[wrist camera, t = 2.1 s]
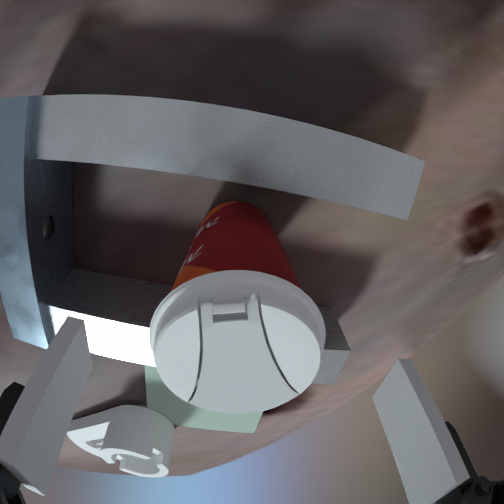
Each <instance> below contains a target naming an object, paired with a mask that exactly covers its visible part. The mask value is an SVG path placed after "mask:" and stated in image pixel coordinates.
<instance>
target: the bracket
mask: <svg viewBox="0 0 504 504" xmlns="http://www.w3.org/2000/svg"><path fill="white" fill-rule="evenodd" d="M174 430H175V429H174V425H173V424H172V422H171V421H170V420H169V419H167V418H166V417H165V416H163V415H162V414H160V413H158V412H156V411H153V410H151V409H148V408H145V407H141V406H135V405H121V406H118V407H114V408H111V409H108V410H105V411H102V412H99V413H95V414H92V415H89V416H85V417H82V418H78V419H75V420H72V421H71V423H70V425H69V428H68V431H67V435H68V437H69V438H70V439H71V440H72V441H73V442H74V443H75V444H76V445H78V446H79V447H81V448H82V449H84V450H86V451H88V452H90V453H92V454H94V455H96V456H99V457H102V458H103V459H104V460H105V461H106V462H107V463H115V462H116V458H117V459H119V460H121V462H120V466H119V469H120V470H122V471H125V472H128V473H131V474H134V475H138V476H144V477H163V476H166V475H167V474H168V472H169V464H170V457H171V450H172V443H173V437H174Z"/></svg>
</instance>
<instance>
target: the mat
mask: <svg viewBox="0 0 504 504" xmlns="http://www.w3.org/2000/svg"><path fill="white" fill-rule="evenodd" d="M145 381H146V396H147V408H148V409H151V410H153V411H156V412H158V413H160V414H162V415H163V416H165V417H166V418H167V419H169V420H170V421H171V422H172V424H173V425H179V426H186V427H193V428H201V429H210V430H220V431H231V432H245V433H254V432H255V430H256V427H257V425H258V423H259V420H260V418H261V416H262V413H263V411H260V412H254V413H246V414H227V413H219V412H214V411H210V410H207V409H204V408H201V407H198V406H195V405H192V404H190V403H189V401H188V403H187V402H186V401H184V400H182V399H181V398H179V397H178V396H176V395H175V394H174V393H173V392H172V391H171V390H170V389H169V388H168V387H167V386H166V385H165V383H164V382H163V381H162V379H161V377H160V375H159V373H158V371H157V368H156V367H154V366H149V365H145Z"/></svg>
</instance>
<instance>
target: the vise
mask: <svg viewBox="0 0 504 504" xmlns="http://www.w3.org/2000/svg"><path fill="white" fill-rule="evenodd" d="M74 162H84V163H95V164H105V165H115V166H124V167H133V168H141V169H149V170H157V171H164V172H172V173H179V174H186V175H192V176H199V177H205V178H212V179H218V180H224V181H230V182H235V183H241V184H247V185H252V186H258V187H263V188H268V189H274V190H279V191H284V192H289V193H294V194H299V195H303V196H308V197H313V198H317V199H322V200H326V201H331V202H335V203H340V204H344V205H348V206H353V207H357V208H361V209H365V210H369V211H373V212H377V213H381V214H385V215H389V216H393V217H397V218H400V219H404V220H407V219H408V216H409V213H410V210H411V207H412V204H413V201H414V198H415V195H416V191H417V188H418V185H419V182H420V178H421V175H422V171H423V168H424V164H425V161H422V160H420V159H417V158H415V157H412V156H410V155H407V154H404V153H402V152H399V151H396V150H393V149H390V148H388V147H385V146H382V145H379V144H376V143H373V142H370V141H367V140H364V139H361V138H358V137H354V136H351V135H348V134H344V133H341V132H338V131H334V130H331V129H327V128H323V127H320V126H316V125H312V124H308V123H304V122H300V121H296V120H292V119H288V118H283V117H279V116H274V115H270V114H265V113H260V112H255V111H250V110H244V109H239V108H233V107H227V106H221V105H214V104H208V103H200V102H193V101H185V100H176V99H166V98H155V97H142V96H126V95H96V94H72V95H43V96H24V97H13V98H4V99H0V292H1V296H2V300H3V304H4V307H5V311H6V314H7V318H8V321H9V324H10V327H11V331H12V334H13V337H14V338H16V339H18V340H21V341H24V342H27V343H30V344H33V345H36V346H39V347H42V348H45V349H47V348H48V346H49V345H50V343H51V342H52V340H53V338H54V337H55V335H56V334H57V332H58V330H59V329H60V327H61V326H62V324H63V323H64V321H65V320H66V318H67V317H68V316H71V317H75V318H79V319H83V320H85V325H86V332H87V337H88V343H89V348H90V352H91V353H94V354H98V355H103V356H107V357H111V358H115V359H120V360H124V361H129V362H134V363H139V364H144V365H149V366H154V367H156V365H155V361H154V356H153V353H152V350H151V346H150V342H149V329H150V323H151V320H152V317H153V315H154V312H155V310H156V309H157V307H158V306H159V304H160V303H161V301H162V300H163V299H164V298H165V297H166V296H167V295H168V294H169V293H170V292H171V290H172V288H173V285H167V284H161V283H155V282H149V281H144V280H138V279H133V278H127V277H122V276H116V275H111V274H106V273H101V272H95V271H90V270H85V269H80V268H76V267H75V259H74V243H73V212H72V194H73V163H74ZM317 307H318V309H319V311H320V313H321V315H322V317H323V320H324V324H325V330H326V339H325V344H324V349H323V352H322V358H321V363H320V367H319V369H318V372H317V374H316V376H315V378H314V379H313V381H312V382H311V383H320V384H333V383H334V381H335V379H336V378H337V376H338V374H339V372H340V370H341V368H342V367H343V365H344V363H345V361H346V359H347V357H348V355H349V353H350V351H351V350H350V348H349V345H348V343H347V341H346V338H345V336H344V334H343V332H342V329H341V327H340V325H339V322H338V320H337V318H336V316H335V313H334V311H333V309H332V307H324V306H317Z"/></svg>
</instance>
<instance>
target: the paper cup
mask: <svg viewBox="0 0 504 504" xmlns="http://www.w3.org/2000/svg"><path fill="white" fill-rule="evenodd" d="M325 339H326V330H325V324H324V320H323V317H322V315H321V313H320V311H319V309H318V307H317V306H316V304H315V303H314V302H313V300H312V299H311V298H310V297H309V296H308V295H307V294H306V293H305V292H304V291H302V289H301V287H300V284H299V282H298V280H297V278H296V276H295V274H294V272H293V269H292V267H291V265H290V263H289V261H288V259H287V257H286V255H285V253H284V250H283V248H282V246H281V244H280V242H279V240H278V238H277V236H276V234H275V232H274V230H273V228H272V226H271V224H270V223H269V221H268V219H267V218H266V216H265V215H264V214H263V213H262V212H261V211H260V210H259V209H258V208H257V207H255V206H253V205H252V204H249V203H246V202H242V201H229V202H225V203H222V204H220V205H218V206H216V207H215V208H213V209H212V210H211V211H210V212H209V213H208V214H207V215H206V217H205V218H204V220H203V221H202V223H201V225H200V227H199V229H198V231H197V233H196V235H195V237H194V240H193V242H192V244H191V246H190V248H189V251H188V253H187V255H186V257H185V260H184V262H183V264H182V267H181V269H180V271H179V274H178V276H177V278H176V281H175V283H174V285H173V288H172V290H171V292H170V293H169V294H168V295H167V296H166V297H165V298H164V299H163V300H162V301H161V303H160V304H159V306H158V307H157V309H156V310H155V312H154V315H153V317H152V320H151V323H150V329H149V342H150V346H151V350H152V353H153V356H154V361H155V365H156V368H157V371H158V373H159V375H160V377H161V379H162V381H163V382H164V383H165V385H166V386H167V387H168V388H169V389H170V390H171V391H172V392H173V393H174V394H175V395H176V396H178V397H179V398H181V399H182V400H184V401H186V402H187V403H188V401H189V403H190V404H192V405H195V406H198V407H201V408H204V409H207V410H210V411H214V412H219V413H227V414H246V413H254V412H260V411H265V410H269V409H272V408H274V407H277V406H279V405H281V404H283V403H285V402H287V401H289V400H291V399H293V398H294V397H296V396H298V395H299V394H301V393H302V392H303V391H304V390H305V389H306V388H307V387H308V386H309V385H310V384H311V382H312V381H313V379H314V378H315V376H316V374H317V372H318V369H319V367H320V363H321V358H322V352H323V349H324V344H325Z"/></svg>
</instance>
